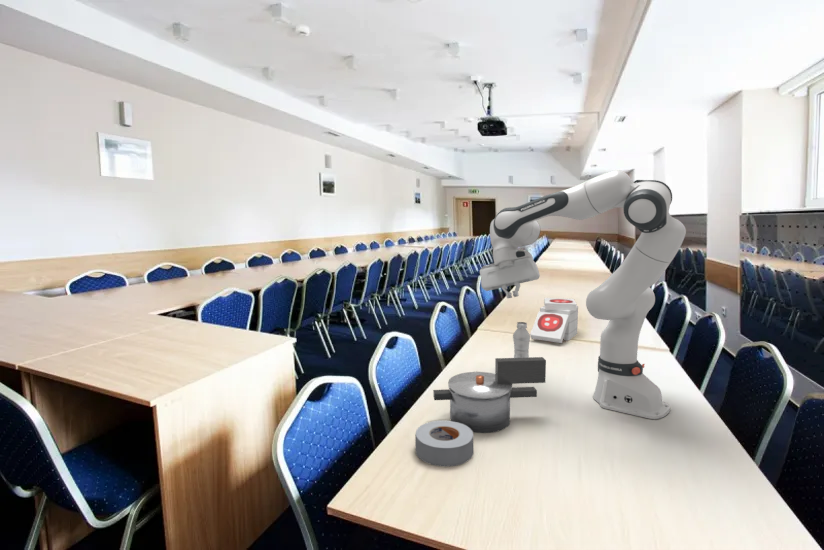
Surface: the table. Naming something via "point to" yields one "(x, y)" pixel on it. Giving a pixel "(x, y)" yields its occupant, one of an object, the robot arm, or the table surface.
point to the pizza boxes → (556, 320)
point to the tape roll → (444, 443)
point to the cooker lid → (499, 378)
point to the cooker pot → (482, 409)
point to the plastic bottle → (521, 341)
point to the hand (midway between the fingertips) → (512, 297)
